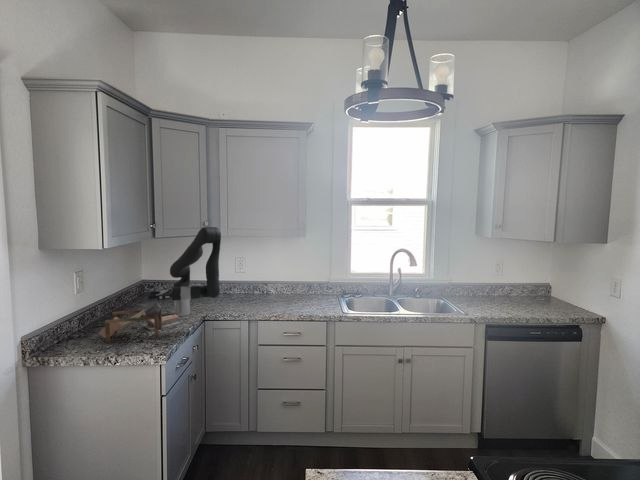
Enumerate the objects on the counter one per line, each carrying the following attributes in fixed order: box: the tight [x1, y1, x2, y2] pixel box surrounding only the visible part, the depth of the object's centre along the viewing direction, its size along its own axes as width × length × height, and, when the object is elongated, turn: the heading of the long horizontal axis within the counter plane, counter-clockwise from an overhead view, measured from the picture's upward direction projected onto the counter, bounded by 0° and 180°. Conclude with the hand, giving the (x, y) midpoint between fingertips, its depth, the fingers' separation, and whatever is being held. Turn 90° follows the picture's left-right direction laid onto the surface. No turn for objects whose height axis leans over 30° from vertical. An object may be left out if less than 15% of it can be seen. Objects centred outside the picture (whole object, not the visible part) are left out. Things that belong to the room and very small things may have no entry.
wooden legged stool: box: [104, 307, 163, 345], centre depth 193 cm, size 17×24×12 cm
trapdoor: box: [118, 300, 162, 330], centre depth 193 cm, size 13×19×4 cm
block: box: [98, 317, 124, 340], centre depth 189 cm, size 5×5×10 cm
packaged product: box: [143, 313, 183, 331], centre depth 211 cm, size 18×5×10 cm
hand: (149, 295), depth 194 cm, fingers open, 8 cm apart
